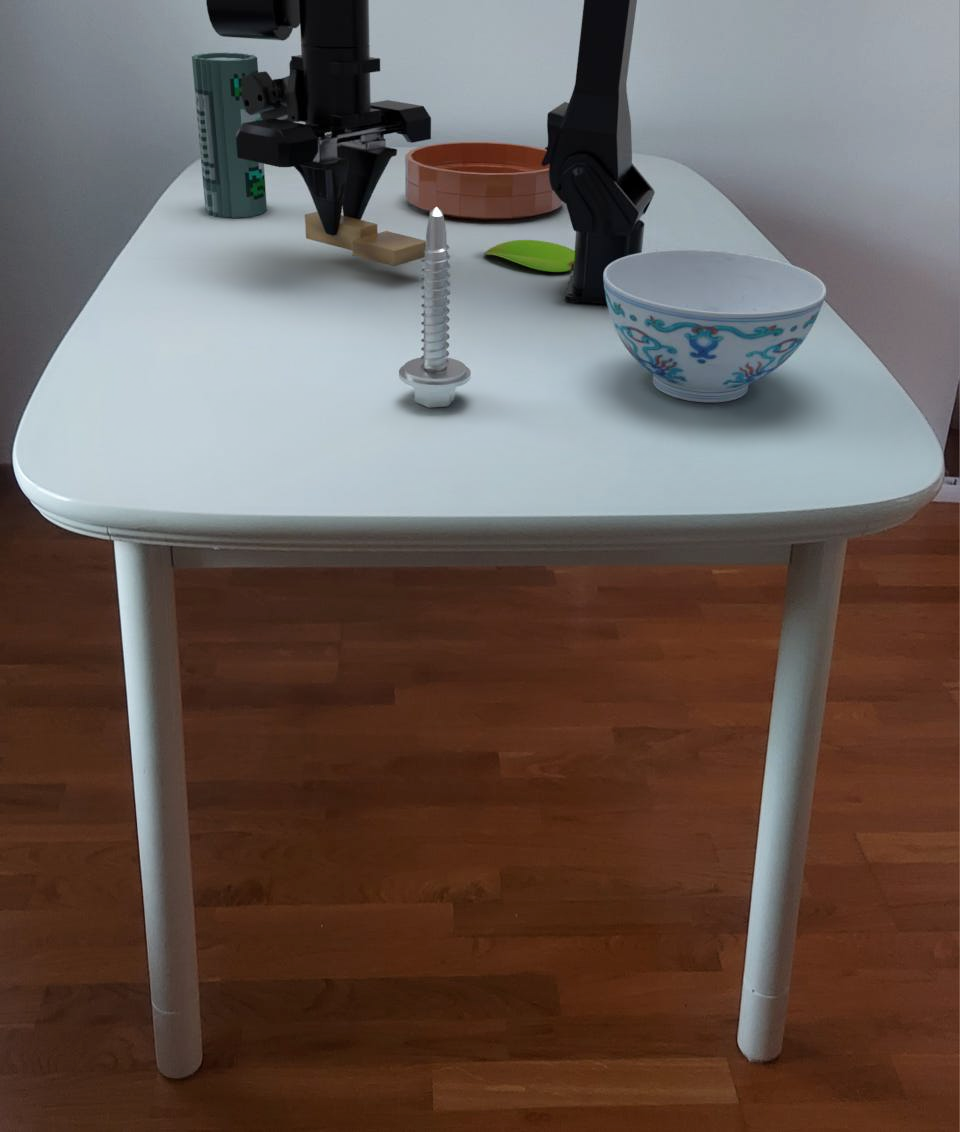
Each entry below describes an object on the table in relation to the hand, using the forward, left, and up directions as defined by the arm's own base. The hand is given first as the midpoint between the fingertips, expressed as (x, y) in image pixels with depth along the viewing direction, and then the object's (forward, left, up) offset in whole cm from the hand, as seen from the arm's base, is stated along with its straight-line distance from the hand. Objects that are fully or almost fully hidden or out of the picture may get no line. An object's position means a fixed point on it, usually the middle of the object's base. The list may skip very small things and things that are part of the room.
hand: (341, 231), depth 106 cm
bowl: (+27, -9, -3) cm, 28 cm away
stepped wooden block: (-1, -2, -1) cm, 3 cm away
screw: (-30, -14, -3) cm, 34 cm away
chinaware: (-23, -32, -3) cm, 40 cm away
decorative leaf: (+5, -17, -3) cm, 18 cm away
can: (+17, +16, -3) cm, 23 cm away
